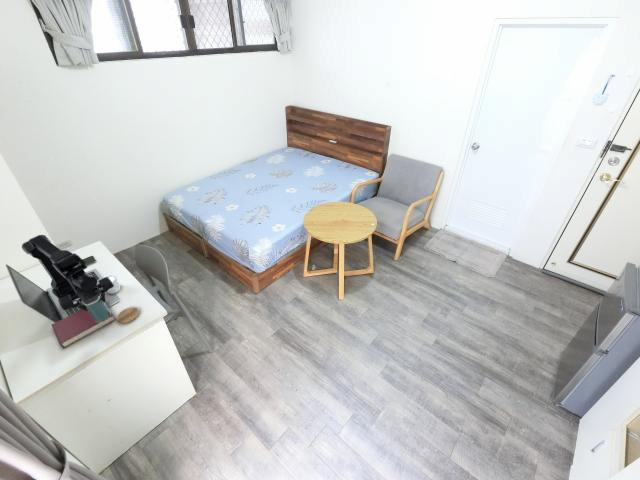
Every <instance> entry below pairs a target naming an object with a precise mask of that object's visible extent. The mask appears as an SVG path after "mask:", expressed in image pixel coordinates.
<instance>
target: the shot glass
mask: <svg viewBox="0 0 640 480" xmlns="http://www.w3.org/2000/svg"><path fill="white" fill-rule="evenodd" d="M107 277H109V279H110V280H111V282H112V283H113V285H114V287H112V288H110V289H108V291H107V292H106V293H108V294H109V295H113V294H116V293H118V292H120V290H121V285H120V283H119V280H118V278H117V276H116V275H109V276H107Z"/></svg>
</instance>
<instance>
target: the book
mask: <svg viewBox="0 0 640 480" xmlns="http://www.w3.org/2000/svg"><path fill="white" fill-rule="evenodd" d="M105 304H106V305H107V303H106V302H105ZM107 307H108V309H109V310H110V308H109V306H108V305H107ZM110 312H111V316H110V318H109V319H108V320H106V321H104V322H101V323H97V322H95V320H94V319H93V318H92V316H91V315H90V313H89V312H88V311H85V310H83V309H81V308H80V310H77V311H75V312H74V313H71V314H69V315H68V316H66V317H63V318H62V319H60V320H58V321H55V322H54V323H52V324H51V327H52V330H53V332H54V334H55V337H56V339H57V341H58V343H59V345H60V347H61V348H62V349H65V348H67V347H68V346H70V345H72V344H74V343H76V342H78V341H80V340H81V339H84V338H85V337H87V336H89V335H91V334H92V333H94V332H96V331H98V330H99V329H101V328H103V327H106V326H107V325H109V324H110V323H112V322H114V321H116V320H117V319H116V316H114V314H113V312H112V311H111V310H110Z"/></svg>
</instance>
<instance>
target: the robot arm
mask: <svg viewBox="0 0 640 480" xmlns="http://www.w3.org/2000/svg"><path fill="white" fill-rule="evenodd" d="M21 249H22V250H23V252H24V253H25V254H27V255H29V256H31V257H32V258H34V259H36V260H38V262H39V263H40V265H41V266H42V267H43V269H44V270H45V271H46V273H47V275H48V276H49V277H50V279H51V282H50V287H51V288H52V289H51V293H52V294H53V295H54V296H55V297H57V298H58V299H57V300H58V301H57V302H58V304H59V306H60V308H61V309H62V310H63V311H67V310H69V309H74V308H79V309H80V310H81V309H83V310H85V311H88V310H87V309H86V308H85V306H84V305H83V303H82V301H83V302H84V304H86V305H87V304H90V303H91V302H93V301H96V300H97V299H98V296H101V298H102V299H103V301H104V302H105V303H106V293H108V292H107V291H108V289H110V288H112V287H114V285H113V283H112V282H111V280H110V279H109V277H108V276H106V277H103V278H101V279H99V280H98V279H97V278H96V277H94V276H93V275H91V274H89V273H88V272H86V271H85V270H86V269H87V268H88V266H87V265H86V264H87V263H86V262H85V261H84V260H83V259H82V258H81V257H80V255H78V254H77V253H73V252H71V251H70V250H67V249H61V248H59V247H58V246H57V245H55V244H54V243H52V241H51V240H50V239H49V238H48V237H47V235H46V234H38V235H36V236H33V237H31V238H30V239H29V240H27V241H24V242H23V243H22V244H21ZM79 264H80V265H79ZM80 300H81V301H80Z"/></svg>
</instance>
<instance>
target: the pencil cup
mask: <svg viewBox="0 0 640 480" xmlns="http://www.w3.org/2000/svg"><path fill="white" fill-rule="evenodd" d="M81 303H82V304H83V305H84V306H85V308H86V309H87V310H88V312H89V313H90V315H91V316H92V318H93V319H94V320H95V322H97V323H101V322H104V321H106V320H108V319H109V318H110V316H111V313H112V311H111V310H109V309H110V308H109V306H108V305H107V303H106V301H105V302H104V301H103V299H102V297H101V295H100V296H98V299H97V300H96V301H93V302H91V303H90V304H87V305H86V304H84V302H83V301H82V300H81ZM105 303H106V304H105ZM107 306H108V307H107ZM108 308H109V309H108ZM110 311H111V312H110Z"/></svg>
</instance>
